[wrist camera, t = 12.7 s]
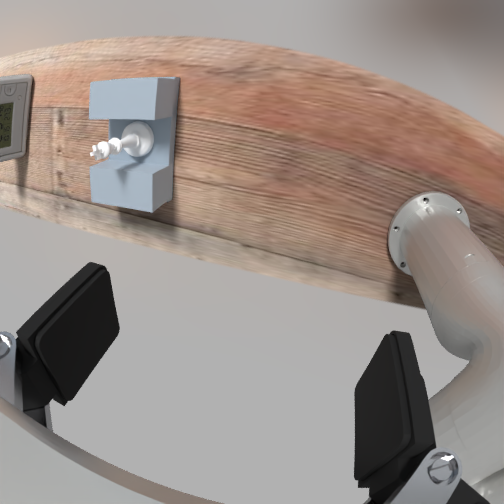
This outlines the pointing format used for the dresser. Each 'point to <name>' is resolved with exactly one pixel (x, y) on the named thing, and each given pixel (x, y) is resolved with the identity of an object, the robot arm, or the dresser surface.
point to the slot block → (123, 165)
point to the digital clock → (14, 115)
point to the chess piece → (127, 142)
